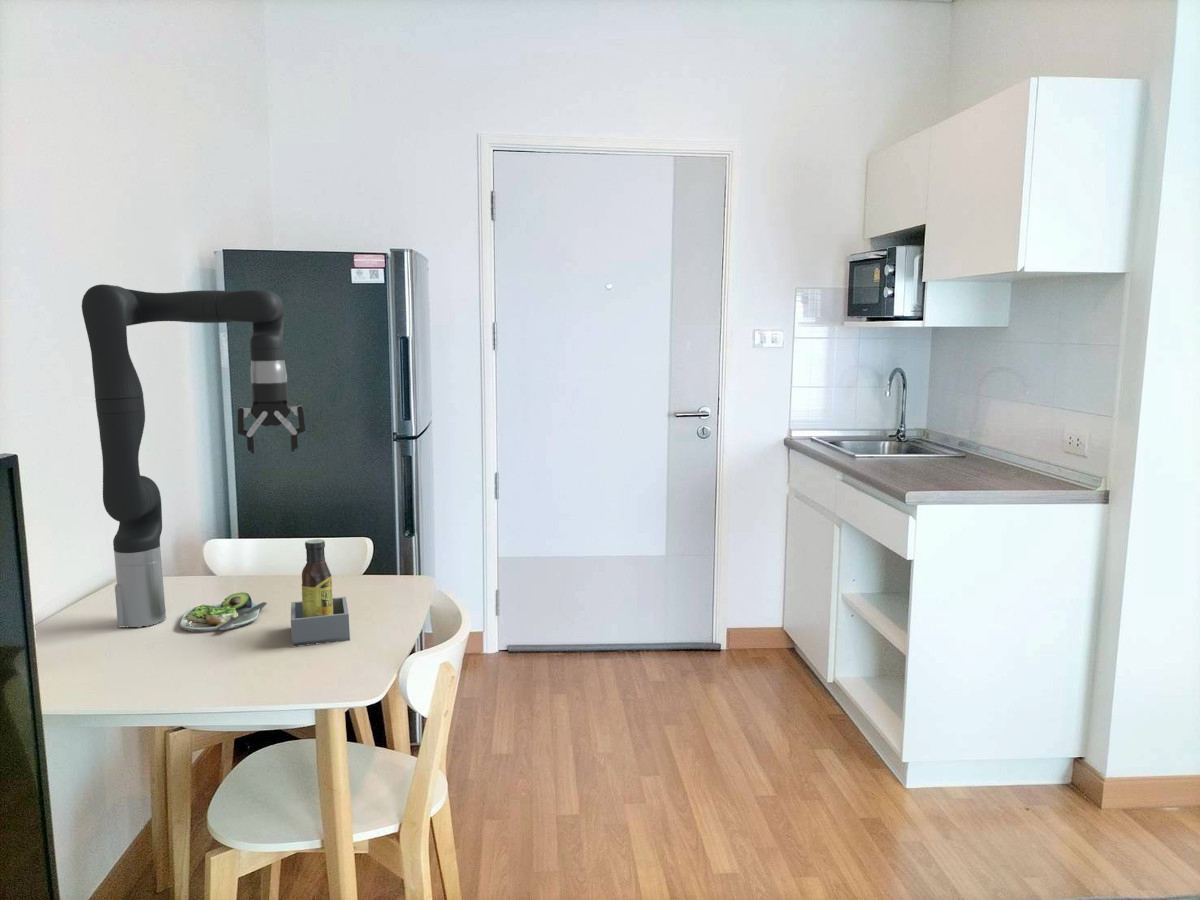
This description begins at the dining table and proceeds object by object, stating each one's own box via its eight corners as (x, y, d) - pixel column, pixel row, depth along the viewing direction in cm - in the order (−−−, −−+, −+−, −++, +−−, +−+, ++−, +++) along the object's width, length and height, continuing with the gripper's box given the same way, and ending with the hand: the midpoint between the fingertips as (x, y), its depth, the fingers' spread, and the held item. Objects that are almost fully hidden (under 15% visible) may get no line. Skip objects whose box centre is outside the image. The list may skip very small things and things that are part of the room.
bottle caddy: (292, 646, 180) (290, 620, 179) (292, 627, 192) (291, 602, 191) (349, 640, 184) (348, 614, 183) (346, 621, 196) (345, 596, 195)
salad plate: (261, 633, 189) (259, 613, 189) (172, 641, 185) (170, 621, 184) (268, 605, 208) (267, 587, 207) (187, 613, 203) (186, 594, 202)
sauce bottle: (328, 635, 184) (323, 545, 181) (299, 635, 184) (294, 545, 182) (338, 625, 191) (333, 537, 188) (310, 625, 191) (305, 537, 188)
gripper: (233, 382, 188) (238, 456, 190) (302, 380, 192) (306, 452, 194) (235, 380, 195) (240, 451, 197) (302, 379, 199) (306, 448, 202)
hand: (273, 452), depth 196 cm, fingers open, 8 cm apart
